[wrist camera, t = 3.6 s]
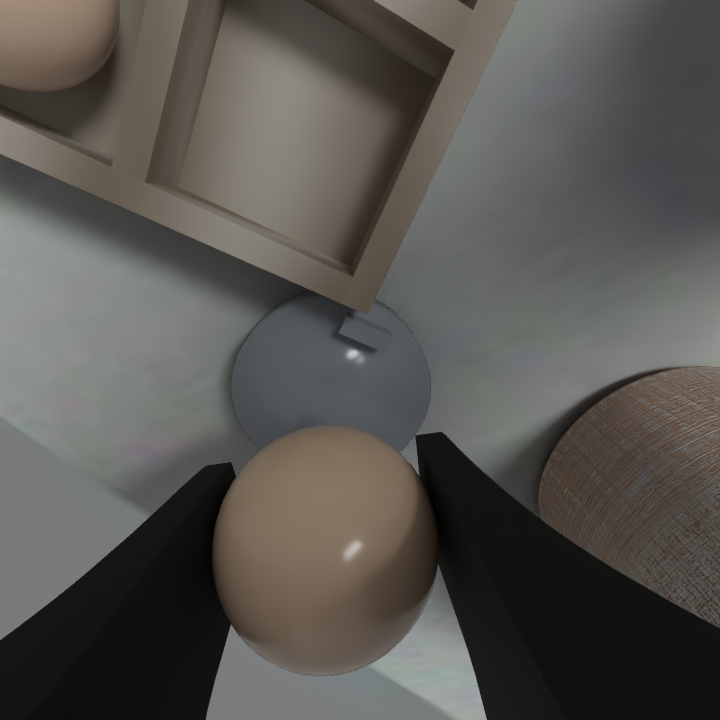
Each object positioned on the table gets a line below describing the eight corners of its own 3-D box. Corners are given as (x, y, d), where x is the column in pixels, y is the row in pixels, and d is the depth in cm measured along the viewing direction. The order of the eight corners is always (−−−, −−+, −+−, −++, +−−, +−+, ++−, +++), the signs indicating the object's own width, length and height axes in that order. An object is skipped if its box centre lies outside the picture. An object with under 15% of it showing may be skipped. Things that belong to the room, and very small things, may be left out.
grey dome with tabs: (454, 334, 14) (472, 354, 12) (375, 474, 17) (379, 509, 15) (279, 255, 13) (268, 264, 11) (218, 419, 15) (200, 450, 13)
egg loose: (447, 427, 9) (527, 596, 5) (371, 548, 11) (389, 754, 7) (279, 361, 9) (224, 501, 5) (221, 502, 10) (138, 705, 6)
